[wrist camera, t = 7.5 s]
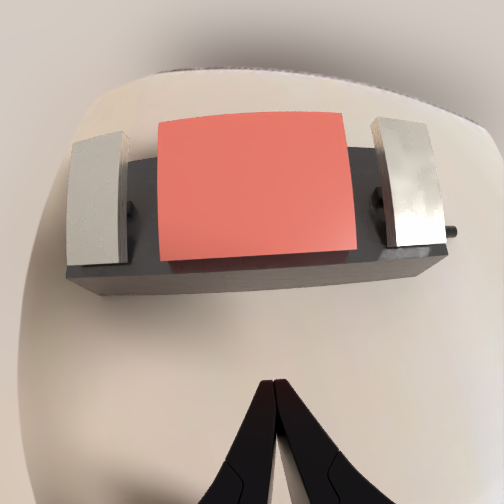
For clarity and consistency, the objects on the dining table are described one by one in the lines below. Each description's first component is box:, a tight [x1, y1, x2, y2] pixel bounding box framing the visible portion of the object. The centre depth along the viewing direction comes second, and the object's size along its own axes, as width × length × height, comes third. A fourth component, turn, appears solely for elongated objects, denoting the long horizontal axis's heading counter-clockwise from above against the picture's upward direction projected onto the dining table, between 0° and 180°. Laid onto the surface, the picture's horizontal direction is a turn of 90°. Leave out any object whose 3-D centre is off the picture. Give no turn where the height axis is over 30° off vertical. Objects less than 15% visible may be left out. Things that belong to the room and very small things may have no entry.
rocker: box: [157, 112, 357, 261], centre depth 17 cm, size 9×12×1 cm
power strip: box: [66, 117, 457, 295], centre depth 20 cm, size 10×35×10 cm, turn 93°
